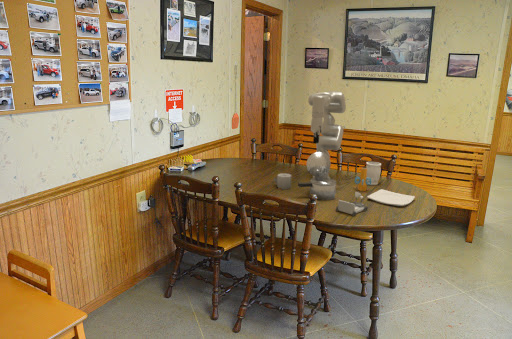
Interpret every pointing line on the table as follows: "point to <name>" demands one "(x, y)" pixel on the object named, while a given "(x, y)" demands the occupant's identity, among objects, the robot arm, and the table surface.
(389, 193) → the plate
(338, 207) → the toy car
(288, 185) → the toilet tissue
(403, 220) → the table surface
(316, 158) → the lid
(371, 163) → the jar
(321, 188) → the pot
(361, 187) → the orange blue upright piece
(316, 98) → the robot arm
